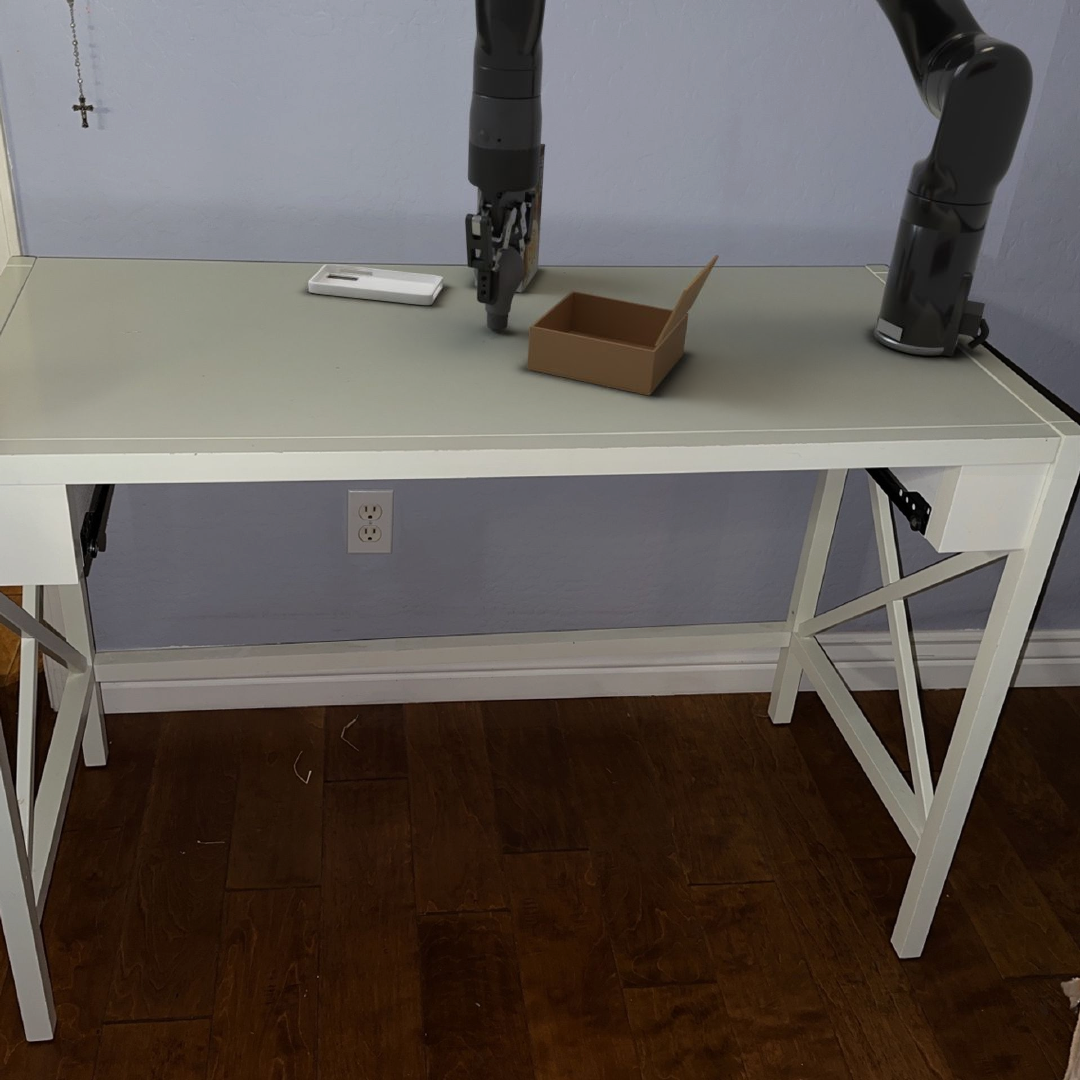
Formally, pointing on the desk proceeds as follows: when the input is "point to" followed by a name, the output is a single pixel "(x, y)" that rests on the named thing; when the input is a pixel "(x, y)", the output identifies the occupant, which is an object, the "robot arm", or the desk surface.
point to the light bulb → (505, 288)
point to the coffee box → (532, 249)
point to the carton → (606, 342)
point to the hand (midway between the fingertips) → (498, 293)
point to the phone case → (377, 285)
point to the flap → (686, 300)
